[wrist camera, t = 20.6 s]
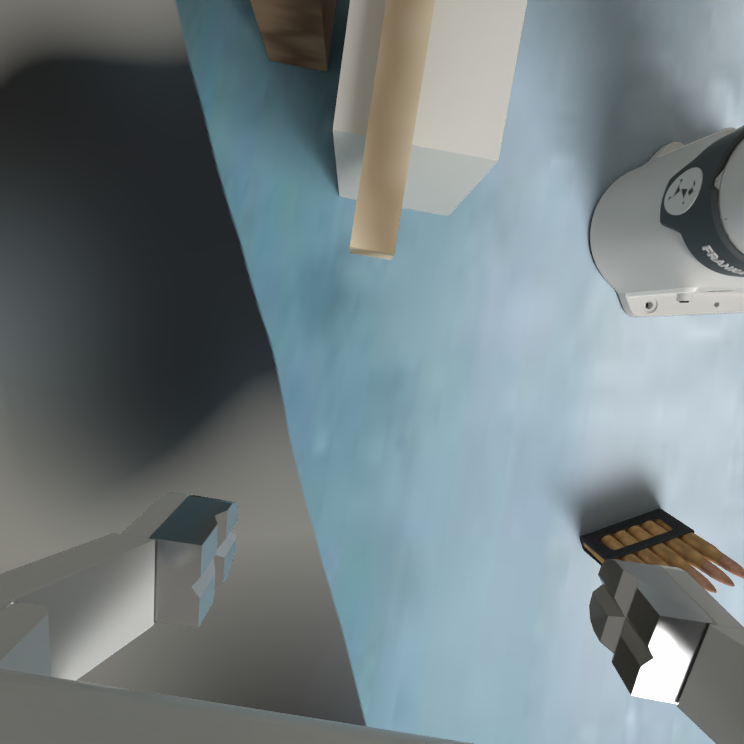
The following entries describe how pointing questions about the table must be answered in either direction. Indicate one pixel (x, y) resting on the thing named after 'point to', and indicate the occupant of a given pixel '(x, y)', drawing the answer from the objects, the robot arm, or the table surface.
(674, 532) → the ammunition clip
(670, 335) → the table surface
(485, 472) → the table surface
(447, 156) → the white upright block
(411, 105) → the slat
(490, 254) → the table surface
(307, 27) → the post
